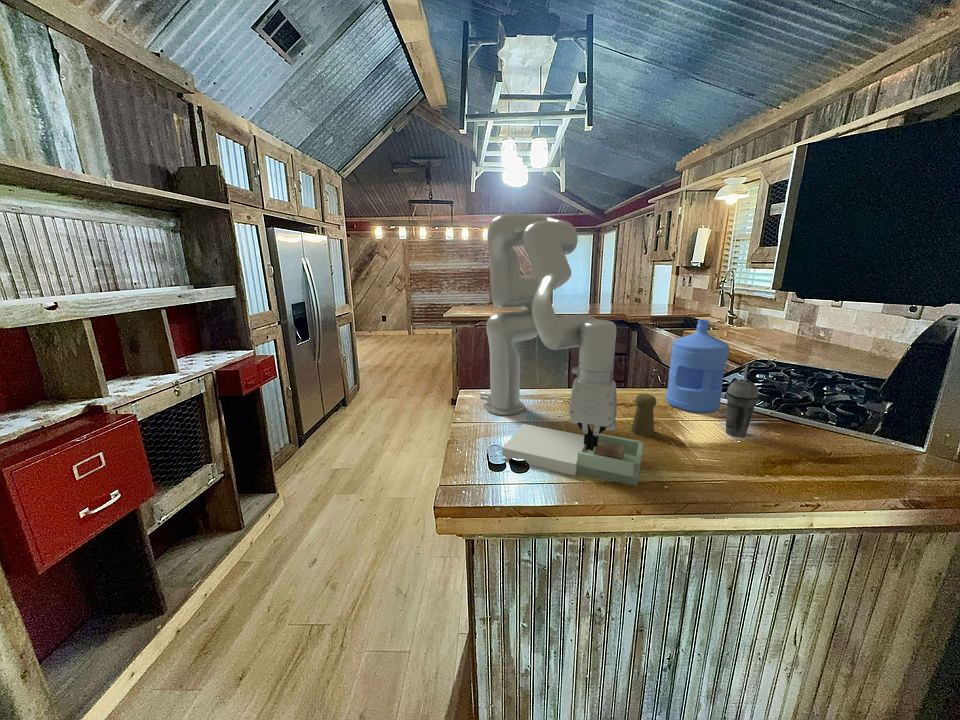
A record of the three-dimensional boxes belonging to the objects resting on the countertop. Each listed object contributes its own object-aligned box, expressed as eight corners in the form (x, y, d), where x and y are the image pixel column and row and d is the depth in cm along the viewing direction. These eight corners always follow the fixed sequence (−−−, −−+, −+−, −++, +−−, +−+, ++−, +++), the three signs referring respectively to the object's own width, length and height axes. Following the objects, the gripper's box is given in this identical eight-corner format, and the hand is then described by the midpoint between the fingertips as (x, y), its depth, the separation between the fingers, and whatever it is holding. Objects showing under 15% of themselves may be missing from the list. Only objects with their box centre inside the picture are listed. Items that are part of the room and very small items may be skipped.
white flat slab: (502, 458, 94) (502, 447, 93) (523, 433, 107) (523, 423, 106) (575, 475, 86) (575, 464, 85) (588, 446, 99) (589, 436, 98)
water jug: (657, 396, 133) (666, 316, 125) (703, 395, 132) (715, 316, 125) (678, 414, 118) (690, 325, 110) (730, 413, 117) (745, 324, 110)
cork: (629, 434, 105) (633, 397, 102) (632, 425, 110) (635, 390, 107) (653, 438, 102) (657, 400, 100) (655, 429, 108) (659, 393, 105)
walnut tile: (593, 462, 88) (593, 452, 87) (597, 450, 93) (598, 441, 92) (620, 468, 85) (621, 458, 84) (623, 455, 90) (624, 446, 89)
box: (576, 472, 87) (577, 453, 86) (587, 449, 97) (588, 431, 96) (637, 486, 81) (639, 466, 80) (641, 460, 92) (643, 441, 90)
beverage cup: (753, 433, 104) (767, 363, 99) (748, 442, 99) (762, 369, 94) (723, 425, 109) (734, 358, 104) (717, 434, 104) (728, 364, 99)
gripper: (558, 375, 86) (555, 448, 91) (628, 384, 79) (621, 462, 84) (566, 366, 92) (563, 435, 97) (632, 374, 85) (625, 447, 90)
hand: (590, 447), depth 90 cm, fingers closed
